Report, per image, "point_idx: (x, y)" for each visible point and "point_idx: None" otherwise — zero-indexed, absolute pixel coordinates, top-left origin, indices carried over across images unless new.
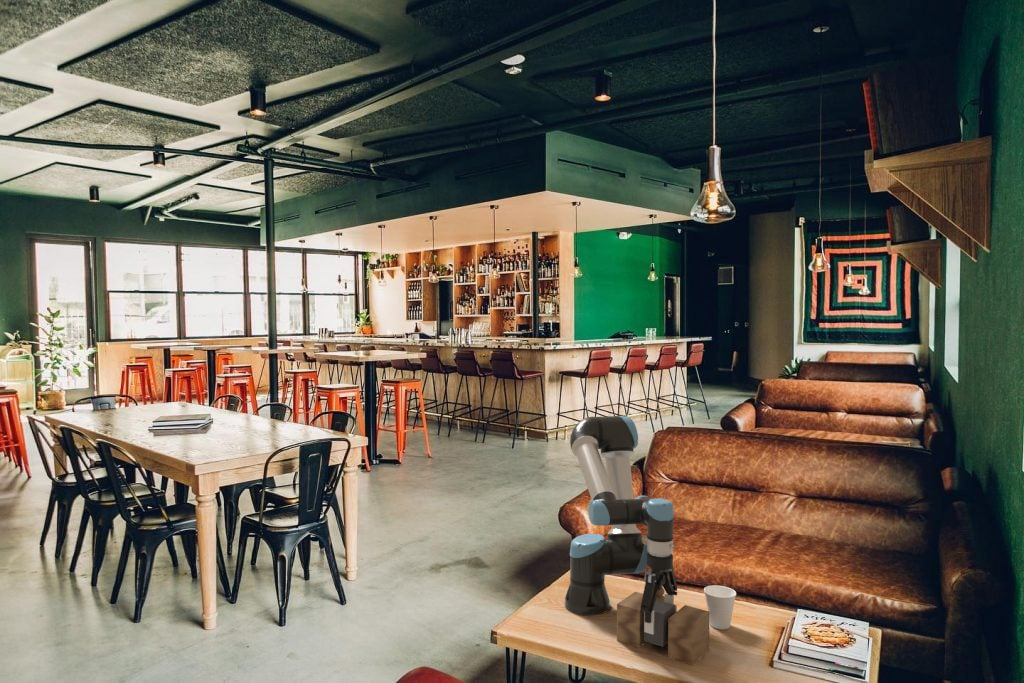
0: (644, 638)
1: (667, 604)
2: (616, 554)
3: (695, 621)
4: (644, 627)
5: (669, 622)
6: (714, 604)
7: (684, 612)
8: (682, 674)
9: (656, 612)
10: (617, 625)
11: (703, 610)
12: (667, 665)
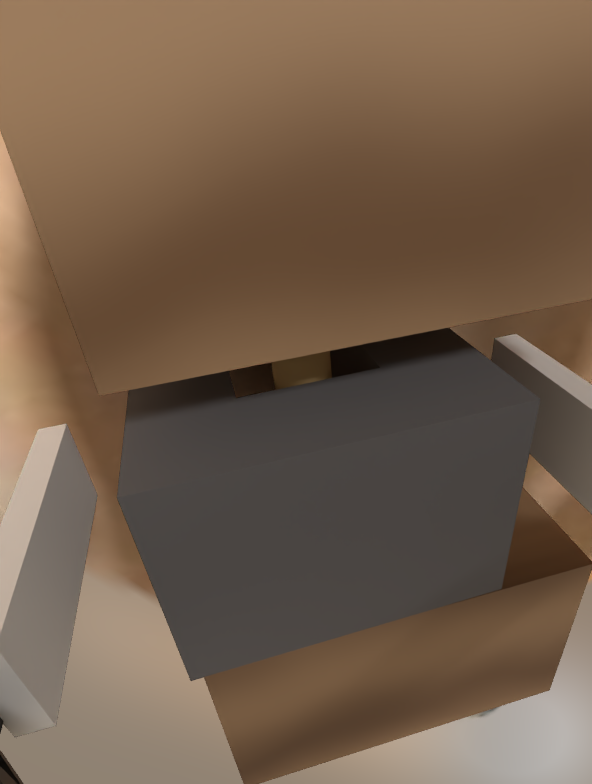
0: None
1: (471, 550)
2: None
3: (325, 753)
4: (28, 458)
5: None
6: None
7: (433, 646)
8: (91, 572)
9: (170, 622)
10: None
11: (547, 670)
12: (99, 489)
